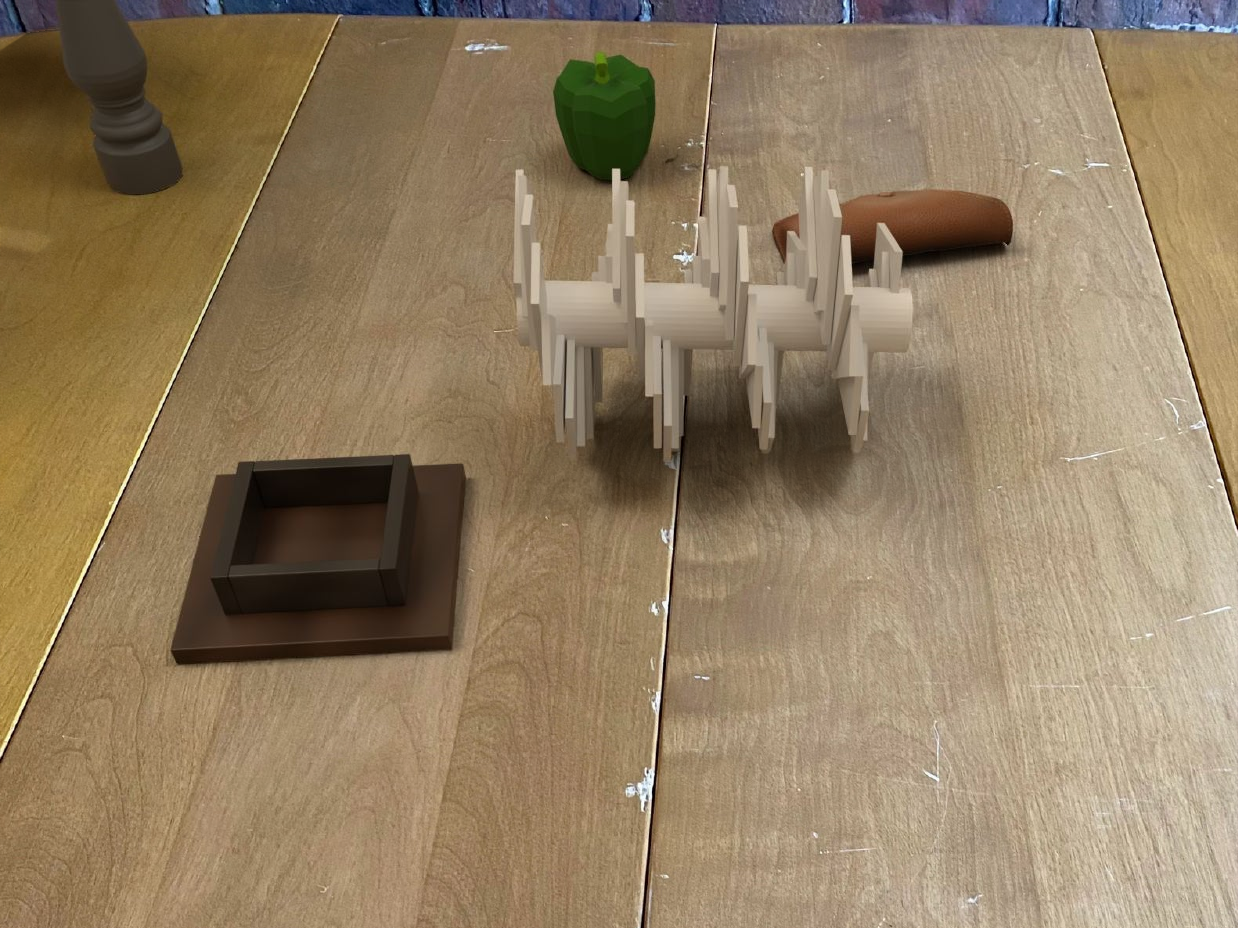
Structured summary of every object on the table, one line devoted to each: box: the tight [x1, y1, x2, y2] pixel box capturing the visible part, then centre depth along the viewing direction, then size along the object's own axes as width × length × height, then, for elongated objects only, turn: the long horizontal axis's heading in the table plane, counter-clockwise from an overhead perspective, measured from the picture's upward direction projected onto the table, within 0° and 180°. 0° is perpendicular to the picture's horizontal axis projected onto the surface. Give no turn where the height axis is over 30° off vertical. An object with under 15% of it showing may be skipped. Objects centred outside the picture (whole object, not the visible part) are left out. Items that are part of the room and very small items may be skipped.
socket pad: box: [169, 453, 467, 665], centre depth 86 cm, size 16×16×4 cm
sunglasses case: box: [771, 188, 1014, 265], centre depth 110 cm, size 18×7×7 cm
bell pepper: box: [552, 51, 657, 181], centre depth 115 cm, size 8×8×10 cm
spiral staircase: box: [513, 165, 914, 463], centre depth 89 cm, size 18×18×25 cm
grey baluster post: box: [54, 0, 184, 196], centre depth 108 cm, size 6×6×25 cm
